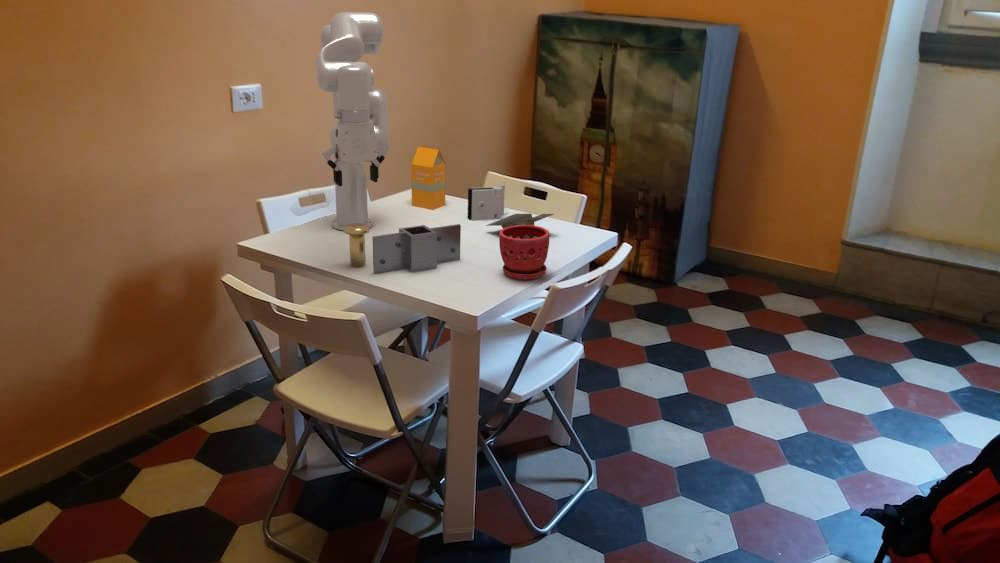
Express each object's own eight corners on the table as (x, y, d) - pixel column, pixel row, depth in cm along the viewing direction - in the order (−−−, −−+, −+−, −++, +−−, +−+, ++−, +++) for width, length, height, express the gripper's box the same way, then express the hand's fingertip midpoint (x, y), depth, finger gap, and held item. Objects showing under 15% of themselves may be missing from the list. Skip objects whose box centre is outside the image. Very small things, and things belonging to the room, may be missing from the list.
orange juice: (432, 210, 263) (432, 150, 256) (411, 205, 267) (410, 147, 260) (445, 205, 269) (446, 147, 262) (425, 200, 273) (424, 143, 266)
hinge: (502, 213, 262) (503, 184, 258) (510, 217, 257) (511, 188, 254) (465, 218, 255) (466, 188, 252) (473, 222, 251) (473, 192, 247)
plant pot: (526, 262, 217) (528, 221, 212) (557, 276, 207) (560, 233, 203) (488, 271, 209) (489, 228, 205) (518, 286, 200) (520, 241, 195)
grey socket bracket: (368, 268, 208) (367, 233, 204) (453, 254, 221) (453, 220, 217) (379, 277, 202) (379, 241, 198) (466, 262, 215) (466, 228, 211)
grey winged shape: (491, 250, 238) (518, 228, 227) (483, 225, 240) (510, 201, 229) (532, 250, 248) (561, 228, 236) (525, 225, 250) (553, 203, 239)
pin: (341, 263, 212) (340, 225, 208) (364, 259, 215) (363, 221, 211) (350, 270, 206) (349, 231, 202) (374, 266, 210) (373, 228, 206)
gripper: (326, 120, 189) (329, 189, 195) (392, 116, 198) (393, 182, 204) (315, 116, 195) (319, 183, 201) (379, 112, 204) (381, 176, 210)
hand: (356, 183), depth 203 cm, fingers open, 9 cm apart
